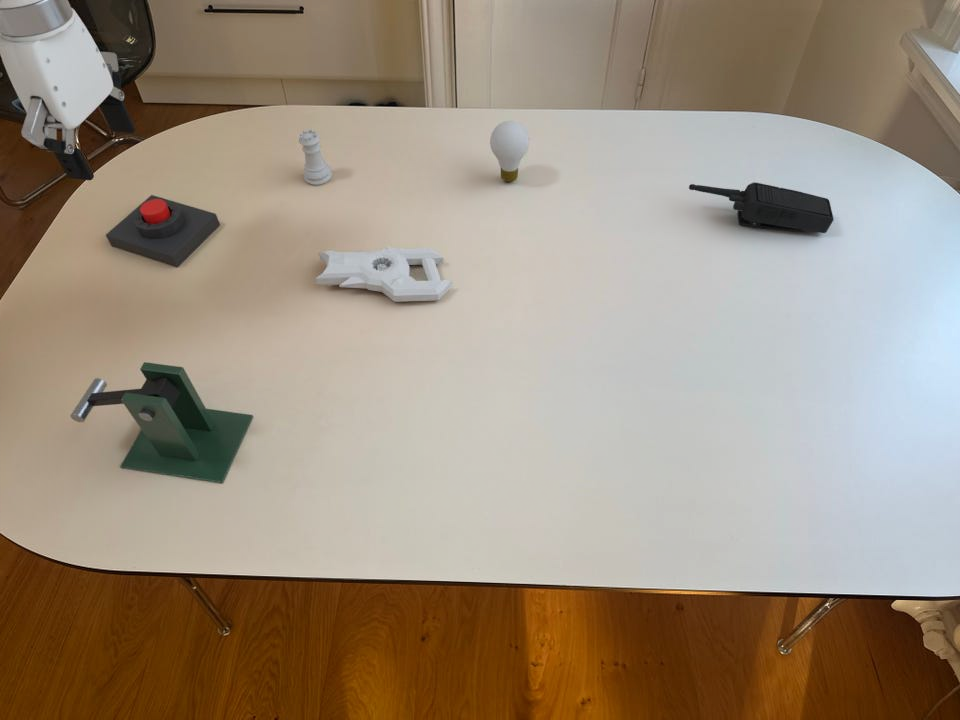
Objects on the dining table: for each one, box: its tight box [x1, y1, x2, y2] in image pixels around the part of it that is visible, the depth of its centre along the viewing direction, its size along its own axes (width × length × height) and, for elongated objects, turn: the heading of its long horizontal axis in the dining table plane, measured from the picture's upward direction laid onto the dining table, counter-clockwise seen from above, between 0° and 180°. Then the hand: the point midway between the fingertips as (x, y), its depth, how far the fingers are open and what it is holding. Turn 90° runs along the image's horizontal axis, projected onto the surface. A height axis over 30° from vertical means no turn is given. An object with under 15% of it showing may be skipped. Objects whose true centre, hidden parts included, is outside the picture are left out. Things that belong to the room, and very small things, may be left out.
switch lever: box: [69, 377, 181, 423], centre depth 75 cm, size 12×5×2 cm, turn 80°
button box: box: [105, 194, 221, 268], centre depth 103 cm, size 12×10×4 cm
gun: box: [315, 246, 453, 303], centre depth 96 cm, size 18×3×10 cm
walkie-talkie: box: [688, 182, 835, 234], centre depth 101 cm, size 6×6×20 cm
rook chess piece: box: [298, 128, 333, 186], centre depth 109 cm, size 4×4×8 cm
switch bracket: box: [120, 361, 254, 484], centre depth 76 cm, size 12×9×12 cm
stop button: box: [140, 199, 170, 224], centre depth 101 cm, size 4×4×2 cm
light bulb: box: [489, 120, 530, 183], centre depth 107 cm, size 6×6×10 cm
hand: (103, 153), depth 86 cm, fingers open, 9 cm apart
